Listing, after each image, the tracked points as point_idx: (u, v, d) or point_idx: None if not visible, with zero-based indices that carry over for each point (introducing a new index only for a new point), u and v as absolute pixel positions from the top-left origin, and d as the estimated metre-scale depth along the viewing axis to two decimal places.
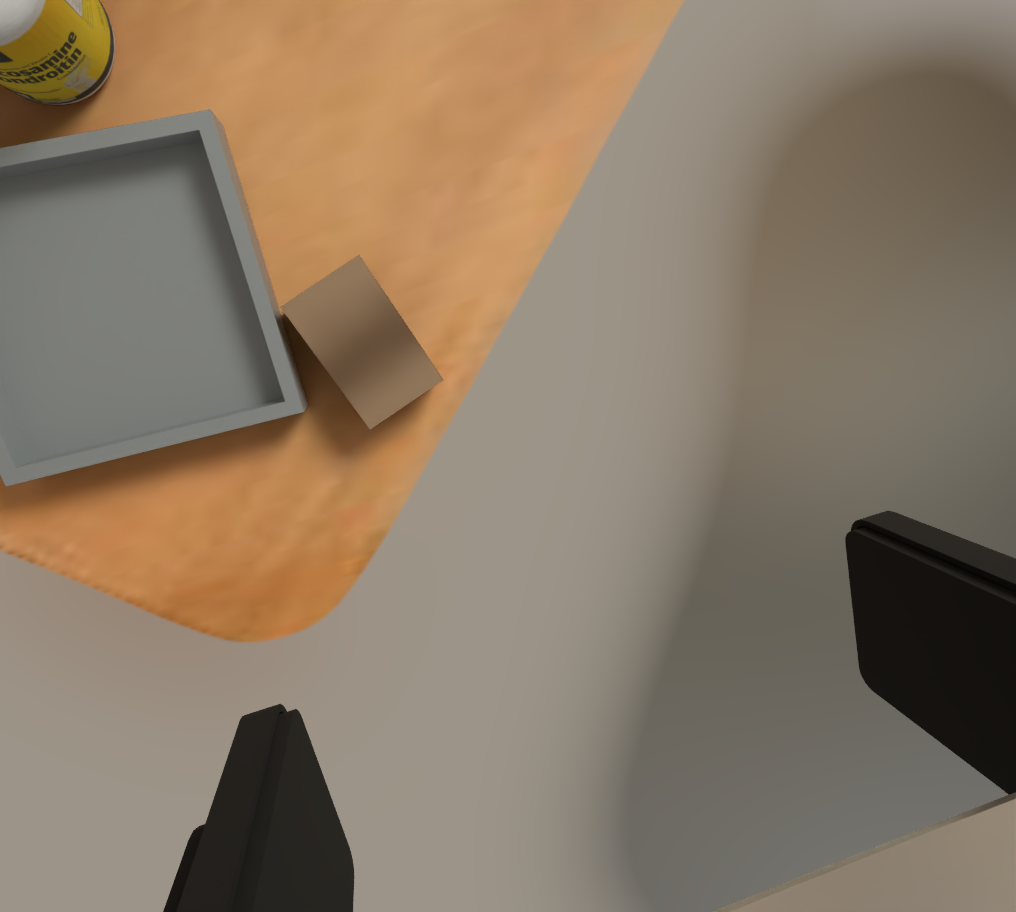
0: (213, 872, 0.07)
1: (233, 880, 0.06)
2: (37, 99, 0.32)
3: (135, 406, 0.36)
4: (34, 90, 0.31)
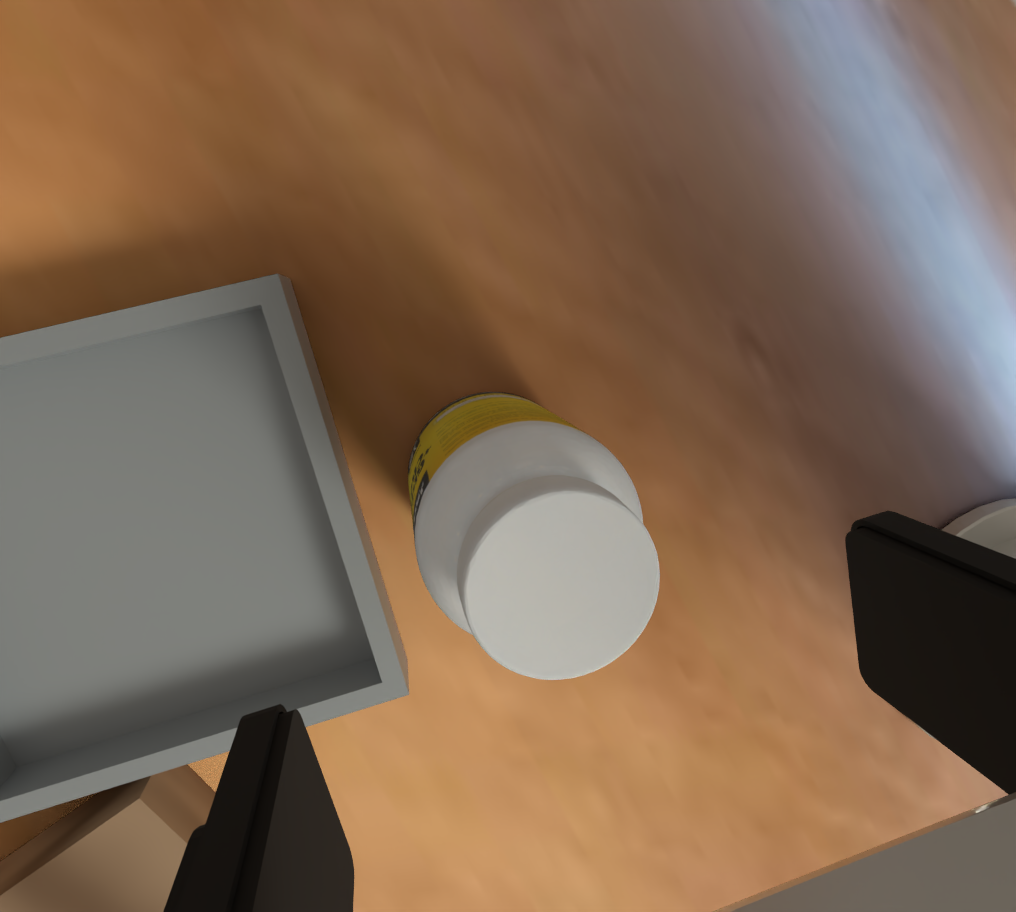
0: (213, 872, 0.07)
1: (233, 880, 0.06)
2: (408, 474, 0.24)
3: None
4: None
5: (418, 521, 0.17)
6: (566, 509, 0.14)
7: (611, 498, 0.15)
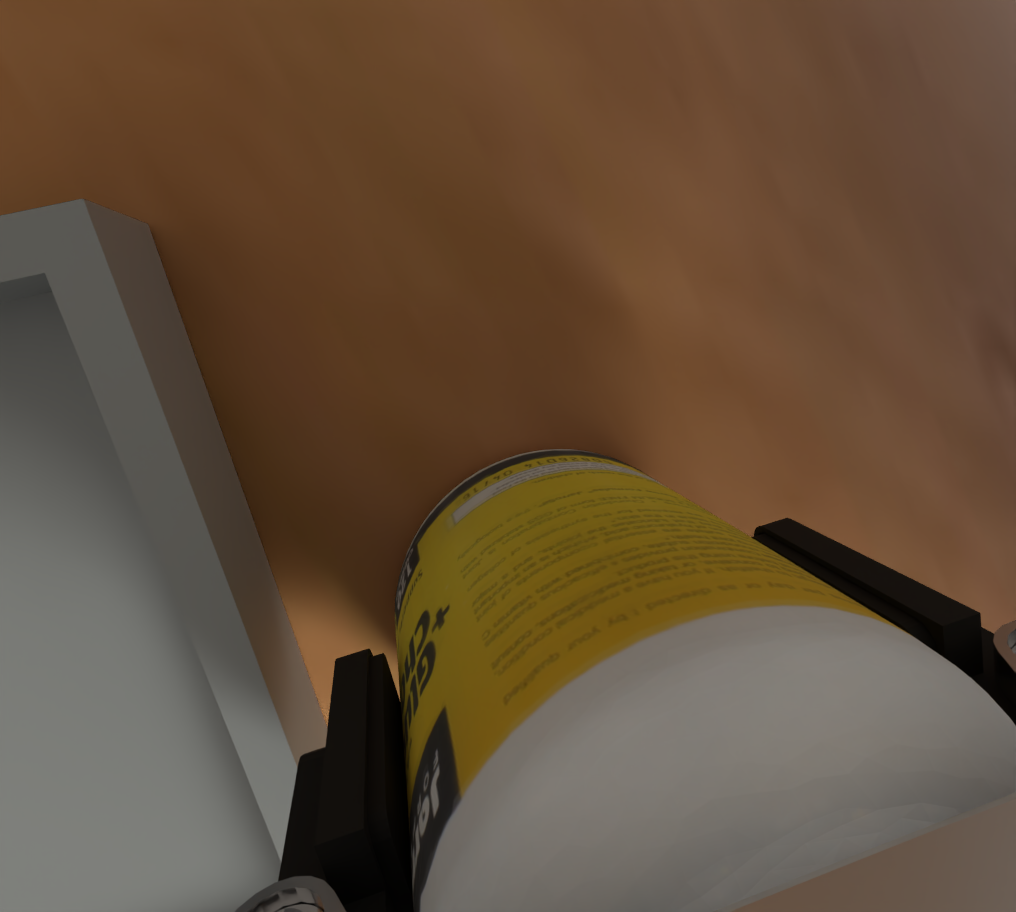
0: (344, 774, 0.07)
1: (363, 780, 0.07)
2: (395, 616, 0.12)
3: None
4: None
5: None
6: None
7: None
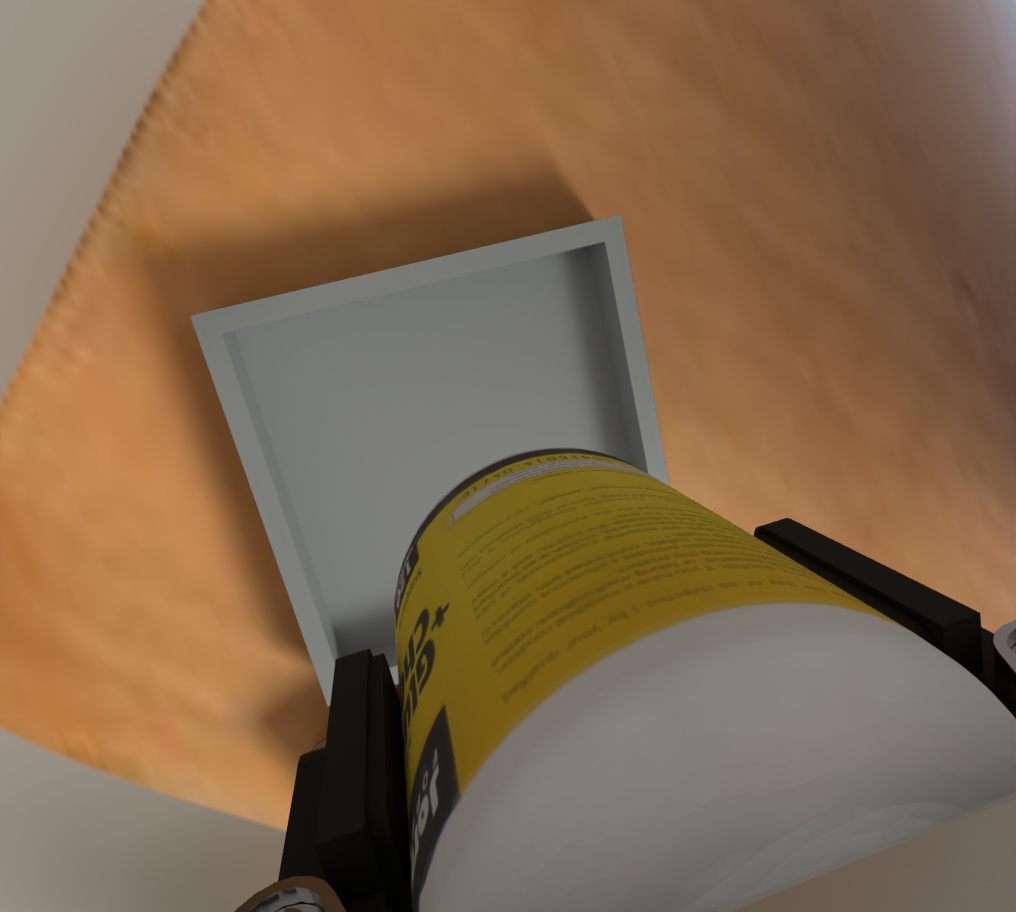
0: (344, 774, 0.07)
1: (363, 780, 0.07)
2: (395, 615, 0.12)
3: (322, 469, 0.26)
4: None
5: None
6: None
7: None
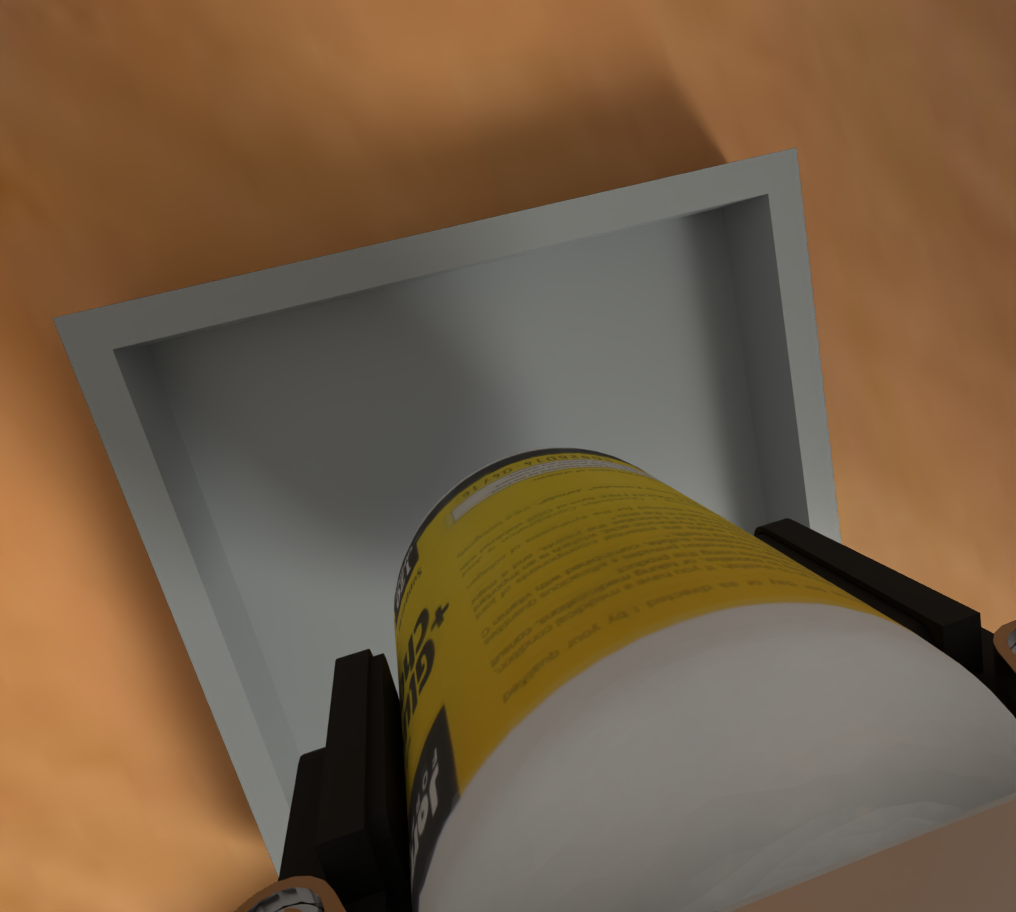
0: (344, 774, 0.07)
1: (363, 780, 0.07)
2: (395, 615, 0.12)
3: (298, 563, 0.16)
4: None
5: None
6: None
7: None
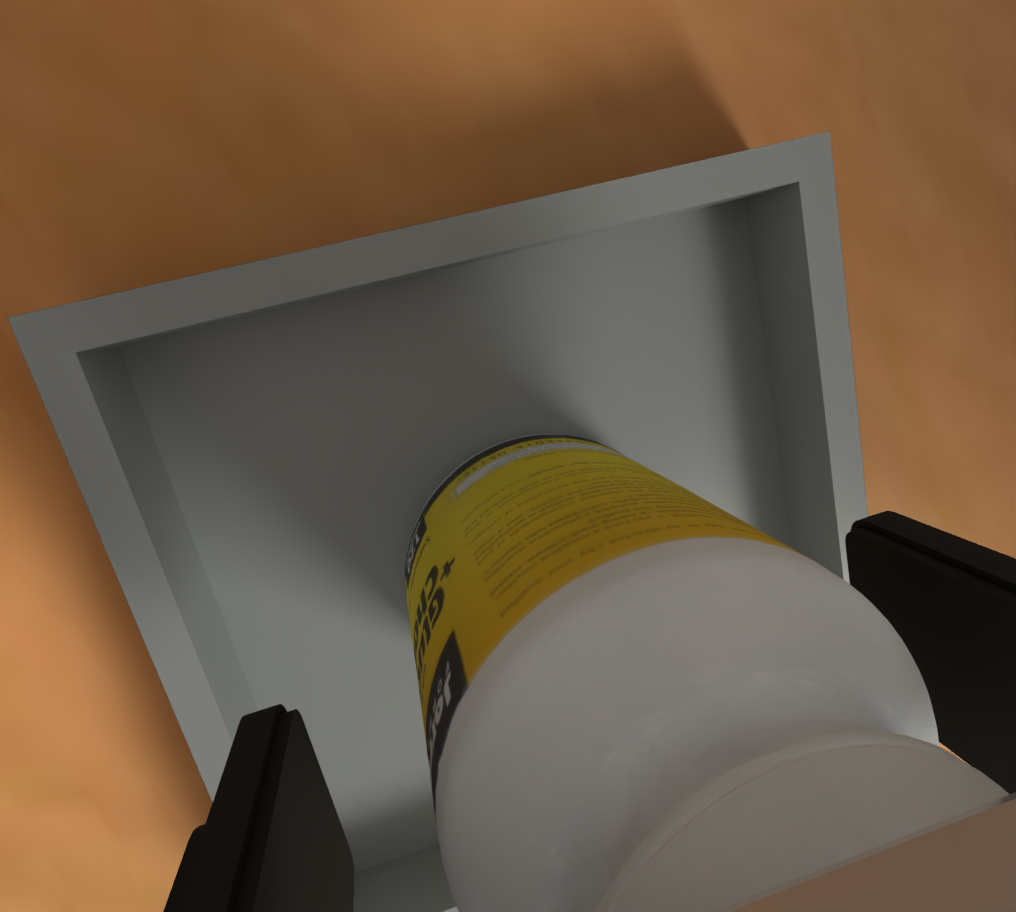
0: (213, 872, 0.07)
1: (233, 880, 0.06)
2: (406, 580, 0.14)
3: (285, 584, 0.15)
4: (411, 634, 0.13)
5: (445, 787, 0.07)
6: None
7: None
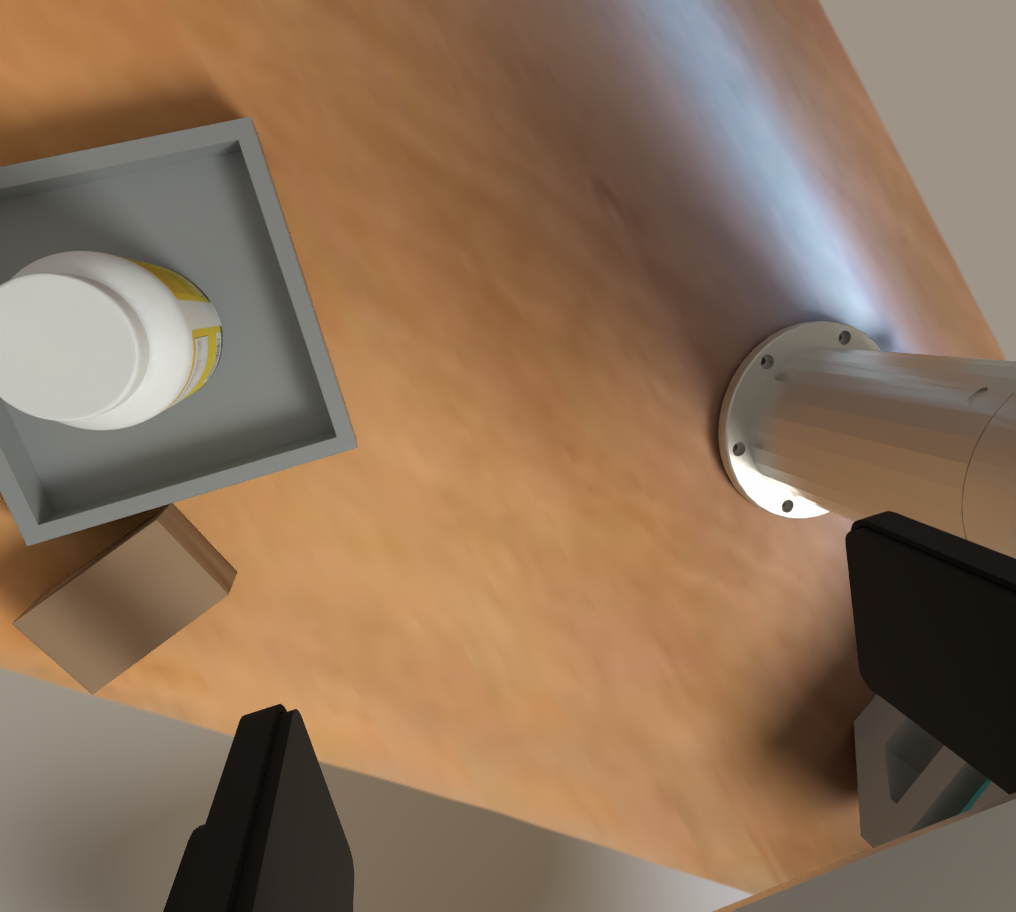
0: (213, 872, 0.07)
1: (233, 880, 0.06)
2: None
3: None
4: None
5: None
6: (45, 287, 0.20)
7: (84, 281, 0.20)
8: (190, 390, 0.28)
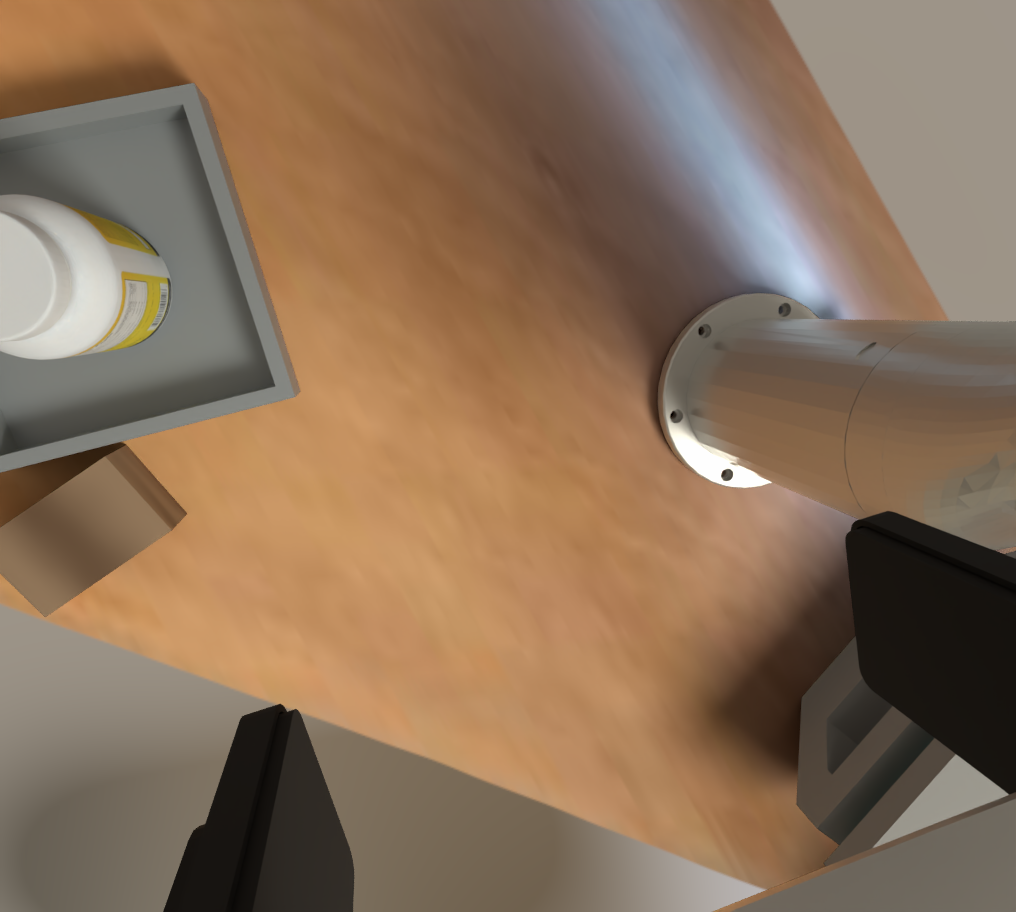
0: (213, 872, 0.07)
1: (233, 880, 0.06)
2: None
3: None
4: None
5: None
6: None
7: (6, 214, 0.23)
8: (129, 331, 0.30)
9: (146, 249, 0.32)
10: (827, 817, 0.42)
